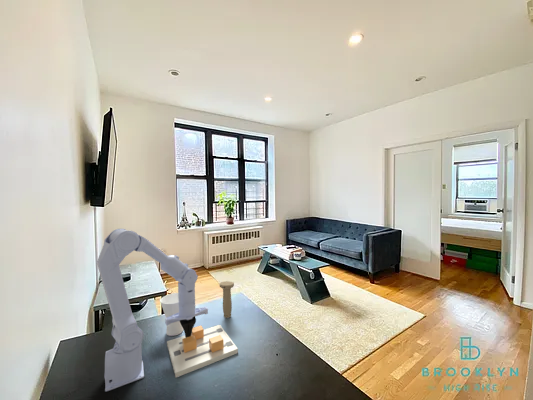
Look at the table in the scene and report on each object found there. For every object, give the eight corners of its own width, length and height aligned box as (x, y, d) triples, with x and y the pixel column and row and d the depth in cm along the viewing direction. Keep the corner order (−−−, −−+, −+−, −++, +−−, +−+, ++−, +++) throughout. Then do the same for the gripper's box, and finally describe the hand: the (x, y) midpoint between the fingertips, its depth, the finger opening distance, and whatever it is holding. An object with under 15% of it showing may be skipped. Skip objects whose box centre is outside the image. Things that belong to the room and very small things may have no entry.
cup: (160, 328, 94) (159, 295, 94) (186, 321, 99) (186, 290, 99) (161, 342, 85) (160, 306, 85) (190, 334, 89) (189, 299, 89)
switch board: (175, 377, 67) (175, 372, 67) (167, 345, 83) (167, 341, 83) (237, 352, 78) (237, 348, 78) (220, 328, 93) (219, 324, 93)
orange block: (212, 352, 76) (211, 343, 76) (209, 347, 78) (209, 338, 78) (223, 348, 78) (223, 339, 78) (220, 343, 80) (220, 334, 80)
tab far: (192, 341, 82) (192, 332, 82) (190, 336, 85) (190, 328, 85) (203, 337, 84) (203, 329, 84) (201, 333, 87) (201, 325, 87)
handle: (232, 320, 99) (231, 285, 99) (218, 318, 101) (217, 284, 101) (236, 314, 104) (235, 281, 104) (223, 313, 105) (222, 281, 105)
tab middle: (184, 352, 76) (184, 343, 76) (182, 347, 79) (182, 338, 79) (196, 348, 78) (196, 339, 78) (194, 343, 81) (194, 335, 81)
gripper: (166, 310, 76) (168, 351, 76) (209, 299, 83) (210, 337, 83) (164, 302, 82) (165, 340, 82) (204, 293, 89) (205, 328, 89)
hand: (187, 338), depth 83 cm, fingers closed
